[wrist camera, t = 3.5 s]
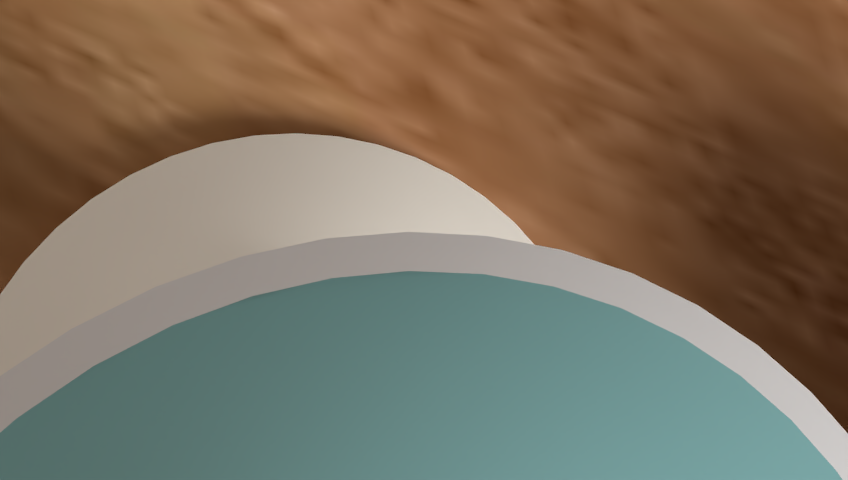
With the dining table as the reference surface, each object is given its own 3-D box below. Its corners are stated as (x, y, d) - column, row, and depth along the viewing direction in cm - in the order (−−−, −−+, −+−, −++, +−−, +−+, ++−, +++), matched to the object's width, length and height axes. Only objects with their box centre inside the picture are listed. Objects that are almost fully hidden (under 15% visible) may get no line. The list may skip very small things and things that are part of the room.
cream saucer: (636, 679, 17) (658, 700, 16) (8, 865, 15) (-11, 905, 14) (536, 112, 18) (551, 100, 17) (-78, 185, 15) (-101, 176, 14)
